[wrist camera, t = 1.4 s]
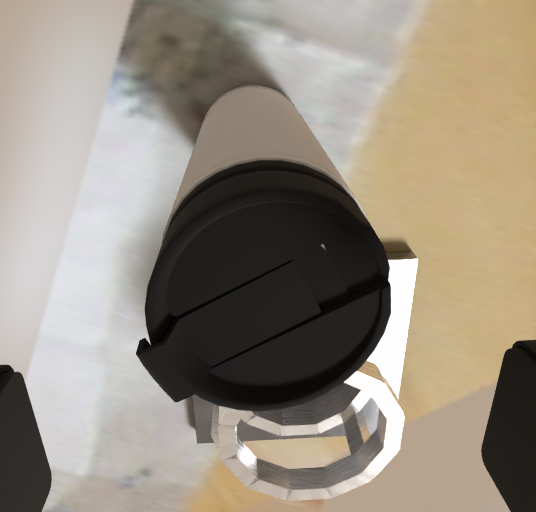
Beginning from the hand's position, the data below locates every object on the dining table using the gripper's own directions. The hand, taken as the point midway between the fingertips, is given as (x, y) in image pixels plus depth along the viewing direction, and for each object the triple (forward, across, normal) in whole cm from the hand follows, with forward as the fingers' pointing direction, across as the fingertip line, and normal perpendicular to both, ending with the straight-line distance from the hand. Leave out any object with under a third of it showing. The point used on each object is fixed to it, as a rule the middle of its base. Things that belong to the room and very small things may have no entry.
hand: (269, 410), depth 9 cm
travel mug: (+22, 0, -1) cm, 22 cm away
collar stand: (+22, -3, +15) cm, 27 cm away
